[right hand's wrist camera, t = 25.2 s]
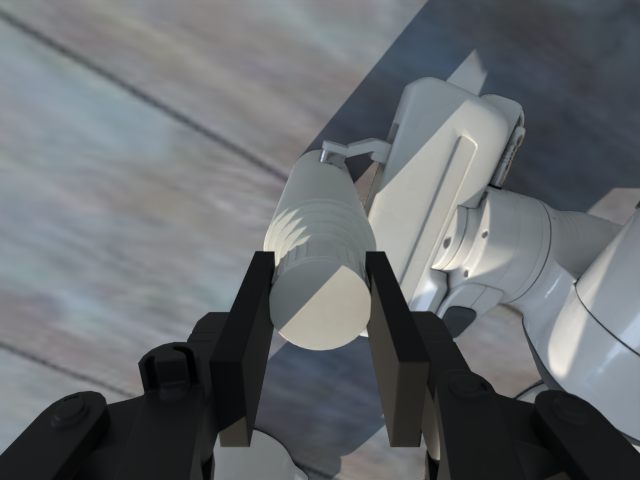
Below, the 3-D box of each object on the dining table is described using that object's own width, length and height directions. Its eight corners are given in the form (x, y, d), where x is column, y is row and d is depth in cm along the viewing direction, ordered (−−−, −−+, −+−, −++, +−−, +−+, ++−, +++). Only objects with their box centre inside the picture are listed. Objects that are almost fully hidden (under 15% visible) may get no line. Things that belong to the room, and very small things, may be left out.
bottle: (335, 139, 33) (360, 203, 12) (358, 193, 34) (412, 327, 14) (281, 164, 34) (220, 262, 13) (305, 216, 35) (286, 372, 15)
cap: (278, 231, 14) (272, 251, 12) (376, 245, 14) (384, 266, 12) (268, 316, 15) (261, 344, 14) (357, 328, 16) (362, 357, 14)
